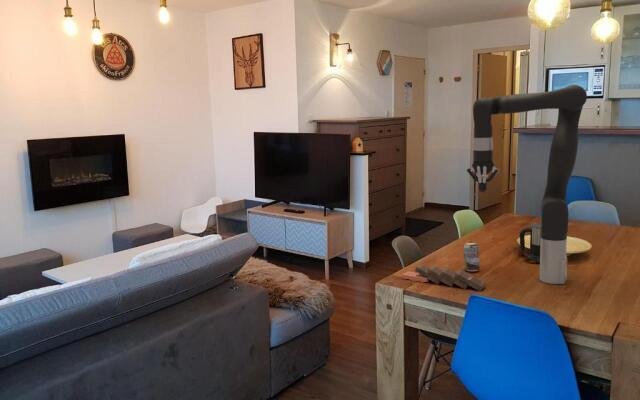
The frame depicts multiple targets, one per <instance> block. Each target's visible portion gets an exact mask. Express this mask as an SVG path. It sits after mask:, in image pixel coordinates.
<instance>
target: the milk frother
mask: <svg viewBox="0 0 640 400" xmlns="http://www.w3.org/2000/svg"><path fill="white" fill-rule="evenodd" d="M541 225H542V222H538V223H537V222H536V223H531V224H530V226H529V227H523V228H521V230H520V232H519V249H520V251H521V252H524V251H525V249H526V244H525V243H526V242H525V241H526V240H525V239H526V238H525V234H526V233H530V235H529V236H530V237H529V253H527V252H525V253H524V256H525V257H526V258H527V259H530V260H531V261H532V262H535V263H537V264H538V263H540V246H541Z"/></svg>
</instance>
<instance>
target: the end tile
mask: <svg viewBox="0 0 640 400" xmlns="http://www.w3.org/2000/svg"><path fill="white" fill-rule="evenodd" d="M401 278H405V279H411V280H416V281H422V282H428V281H429V279H428V278H426V277H424V276H423V275H421V274H419V273H418V272H416V271H415V272H414V271H406V272H405V273H404V272H403V274H401ZM429 282H430V281H429ZM429 282H428V283H429Z"/></svg>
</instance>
